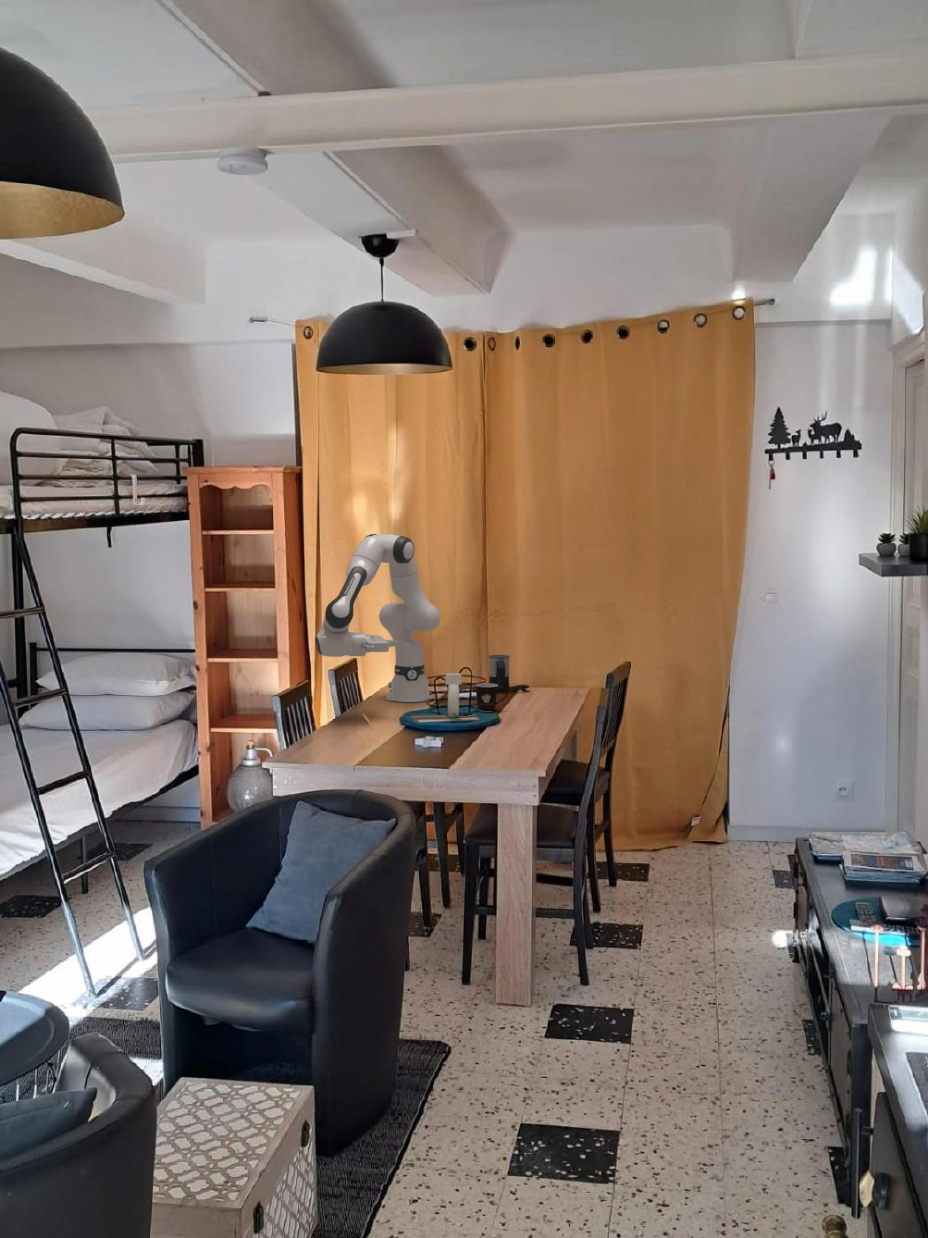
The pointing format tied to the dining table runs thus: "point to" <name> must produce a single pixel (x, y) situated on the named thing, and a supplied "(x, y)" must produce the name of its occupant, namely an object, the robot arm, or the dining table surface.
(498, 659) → the milk frother
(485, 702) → the coffee mug
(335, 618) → the robot arm
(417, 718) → the tuner board
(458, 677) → the peg
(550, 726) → the dining table surface
